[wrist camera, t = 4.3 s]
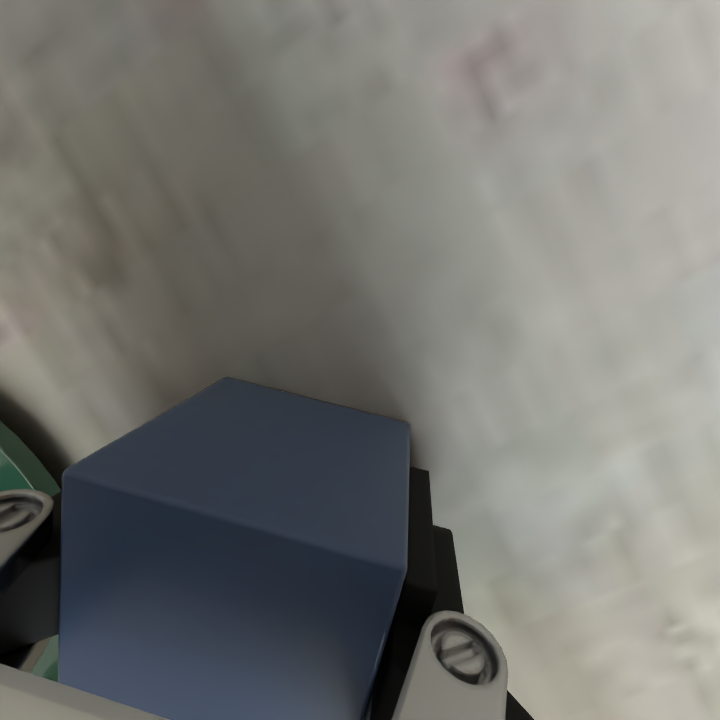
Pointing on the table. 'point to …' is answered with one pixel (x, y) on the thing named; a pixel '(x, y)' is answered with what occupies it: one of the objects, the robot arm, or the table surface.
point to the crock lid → (25, 471)
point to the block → (236, 558)
